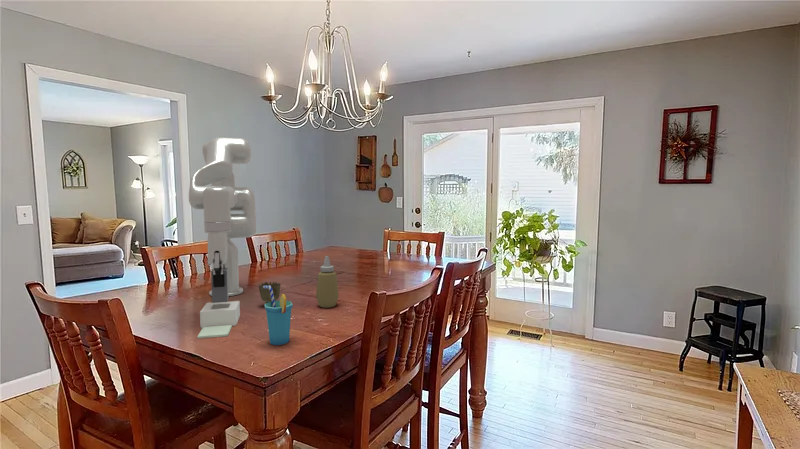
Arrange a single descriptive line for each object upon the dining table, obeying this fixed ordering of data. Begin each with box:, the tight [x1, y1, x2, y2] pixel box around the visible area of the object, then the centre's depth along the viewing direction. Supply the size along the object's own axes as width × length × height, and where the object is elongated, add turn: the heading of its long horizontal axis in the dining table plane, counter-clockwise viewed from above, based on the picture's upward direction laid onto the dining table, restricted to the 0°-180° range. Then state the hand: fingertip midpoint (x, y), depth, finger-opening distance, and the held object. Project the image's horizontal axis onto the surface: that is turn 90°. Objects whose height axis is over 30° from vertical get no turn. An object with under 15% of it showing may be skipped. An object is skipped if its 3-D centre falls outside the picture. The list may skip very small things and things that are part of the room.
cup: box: [263, 285, 293, 346], centre depth 115 cm, size 14×8×15 cm, turn 46°
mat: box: [197, 325, 233, 339], centre depth 122 cm, size 8×8×1 cm
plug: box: [210, 268, 230, 303], centre depth 131 cm, size 4×4×10 cm
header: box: [199, 300, 241, 329], centre depth 131 cm, size 10×10×5 cm
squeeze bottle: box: [315, 255, 340, 309], centre depth 148 cm, size 8×8×18 cm
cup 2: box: [258, 281, 281, 304], centre depth 149 cm, size 8×7×8 cm
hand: (219, 284), depth 131 cm, fingers closed on plug, 4 cm apart
